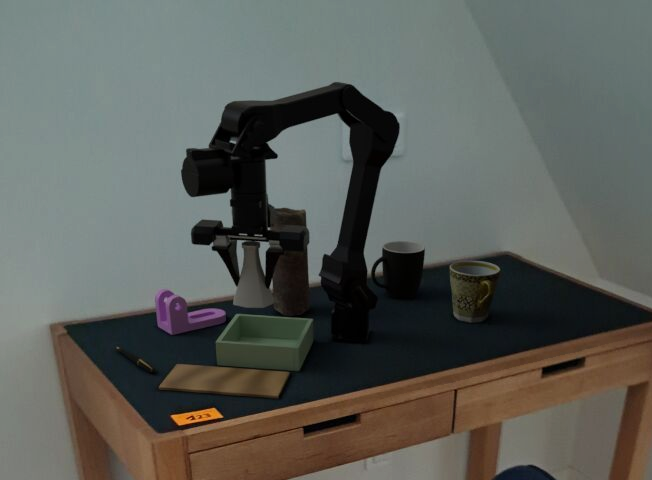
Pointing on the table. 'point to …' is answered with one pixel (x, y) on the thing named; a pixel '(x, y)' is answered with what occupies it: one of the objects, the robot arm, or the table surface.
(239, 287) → the flask
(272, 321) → the bin
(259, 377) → the cork mat
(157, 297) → the bracket
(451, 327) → the table surface
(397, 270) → the mug
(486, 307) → the ceramic cup
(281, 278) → the brown tall block
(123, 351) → the fountain pen
